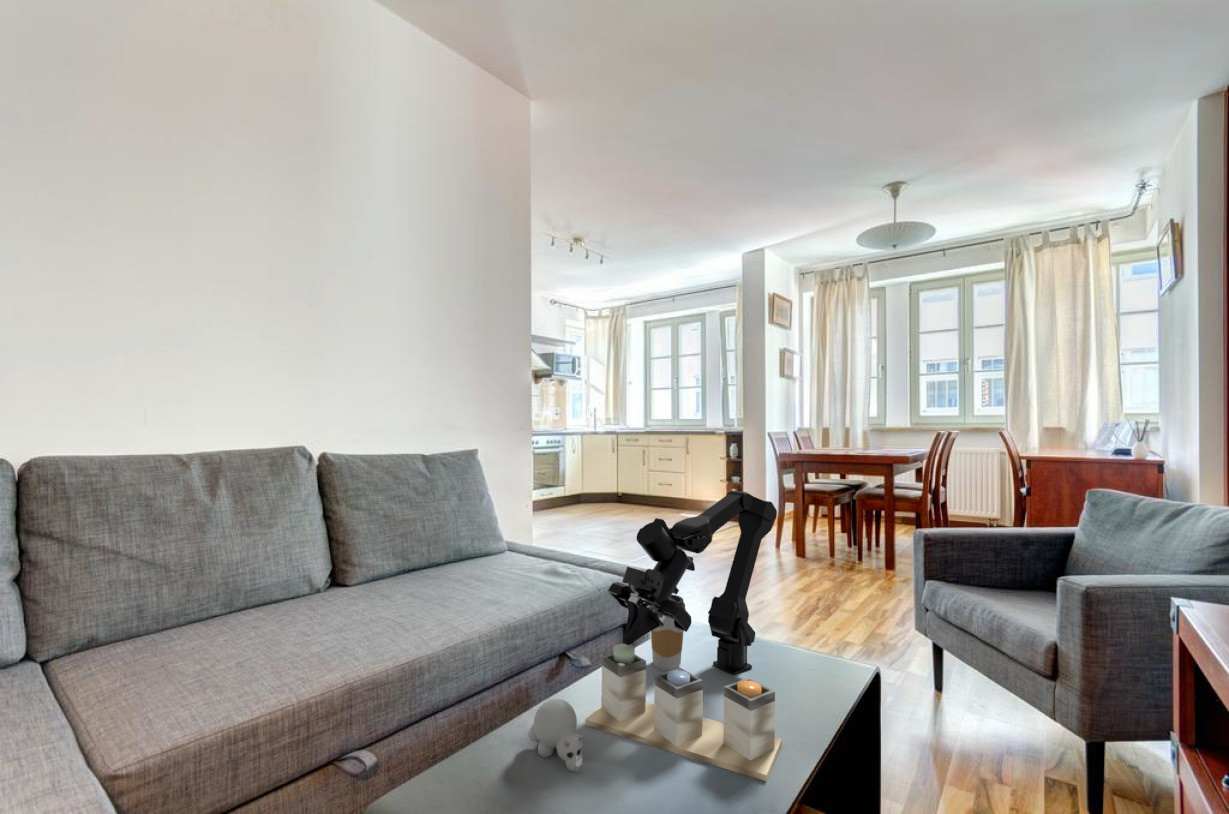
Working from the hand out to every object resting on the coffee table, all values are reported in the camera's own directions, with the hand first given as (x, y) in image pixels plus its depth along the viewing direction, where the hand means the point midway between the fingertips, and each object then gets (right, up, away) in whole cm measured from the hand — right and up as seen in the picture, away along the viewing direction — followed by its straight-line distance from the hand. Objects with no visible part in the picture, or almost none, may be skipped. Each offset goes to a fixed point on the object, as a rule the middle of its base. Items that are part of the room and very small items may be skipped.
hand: (625, 643), depth 108 cm
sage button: (0, -3, 0) cm, 3 cm away
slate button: (+9, -5, -7) cm, 13 cm away
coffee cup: (+10, -14, +22) cm, 28 cm away
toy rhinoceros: (-11, -13, -14) cm, 22 cm away
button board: (+10, -14, -6) cm, 18 cm away
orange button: (+21, -5, -11) cm, 24 cm away
